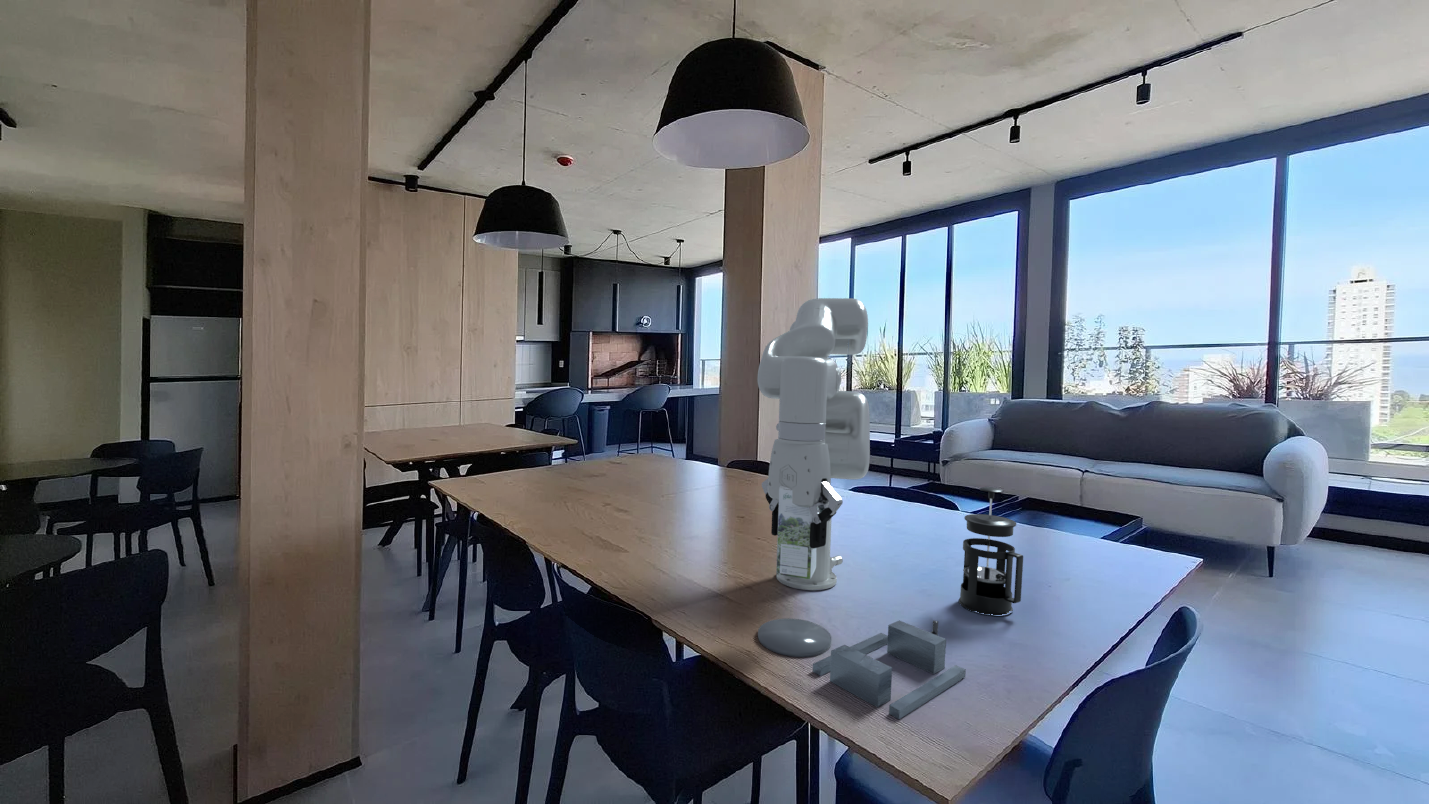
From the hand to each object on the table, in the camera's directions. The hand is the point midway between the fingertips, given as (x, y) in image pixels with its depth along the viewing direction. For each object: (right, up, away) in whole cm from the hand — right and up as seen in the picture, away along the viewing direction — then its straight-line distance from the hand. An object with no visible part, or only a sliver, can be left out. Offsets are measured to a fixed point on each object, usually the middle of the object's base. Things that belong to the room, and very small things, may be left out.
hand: (797, 539), depth 94 cm
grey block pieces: (+14, -18, -8) cm, 24 cm away
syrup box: (0, -6, 0) cm, 6 cm away
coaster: (0, -17, +1) cm, 17 cm away
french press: (+39, -17, +16) cm, 45 cm away
